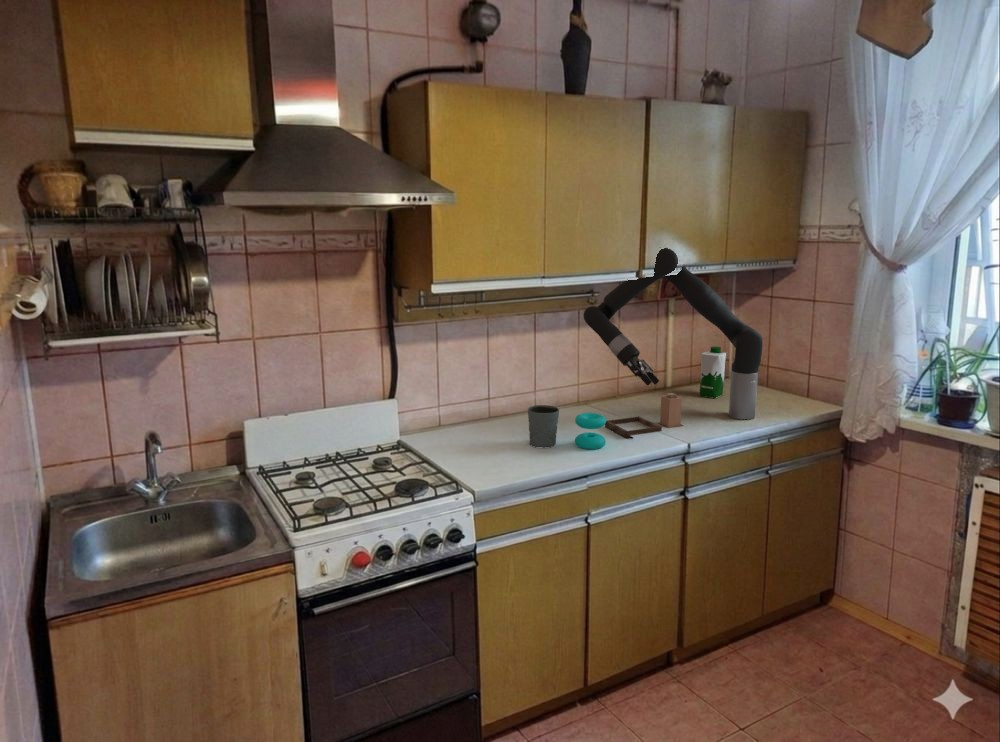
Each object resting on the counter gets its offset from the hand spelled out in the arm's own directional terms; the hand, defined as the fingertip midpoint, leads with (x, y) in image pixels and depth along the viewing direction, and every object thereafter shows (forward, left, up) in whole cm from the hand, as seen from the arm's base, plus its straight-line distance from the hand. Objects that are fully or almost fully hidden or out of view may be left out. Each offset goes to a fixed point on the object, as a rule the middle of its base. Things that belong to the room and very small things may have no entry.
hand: (653, 383), depth 244 cm
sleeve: (0, +6, -14) cm, 16 cm away
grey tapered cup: (+31, -32, -16) cm, 47 cm away
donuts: (+28, -17, -16) cm, 36 cm away
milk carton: (-49, +18, -16) cm, 55 cm away
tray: (+8, -6, -15) cm, 18 cm away
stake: (0, +6, -15) cm, 17 cm away
